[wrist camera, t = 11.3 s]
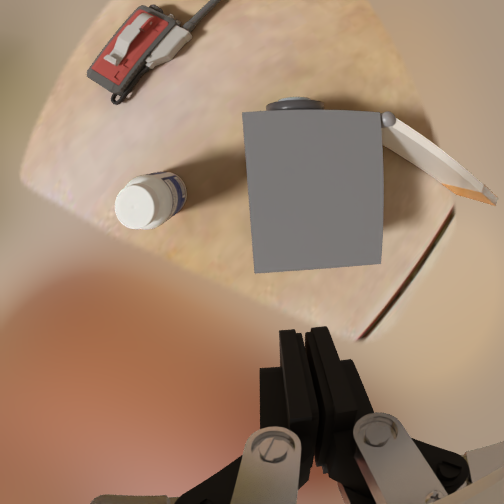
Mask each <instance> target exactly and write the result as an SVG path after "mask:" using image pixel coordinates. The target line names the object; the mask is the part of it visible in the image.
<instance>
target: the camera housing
mask: <svg viewBox="0 0 504 504" xmlns="http://www.w3.org/2000/svg"><path fill="white" fill-rule="evenodd" d="M242 118H243V131H244V143H245V156H246V169H247V182H248V195H249V207H250V220H251V233H252V246H253V259H254V272H255V273H269V272H283V271H297V270H311V269H324V268H337V267H349V266H361V265H372V264H381V255H382V238H383V209H384V176H383V148H382V131H381V119H380V112H367V111H350V110H324V103H323V102H320V101H315V100H311V99H310V98H305V97H290V98H283V99H280V100H278V102H274V103H270V104H268V105H267V106H266V111H256V112H243V113H242Z"/></svg>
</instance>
